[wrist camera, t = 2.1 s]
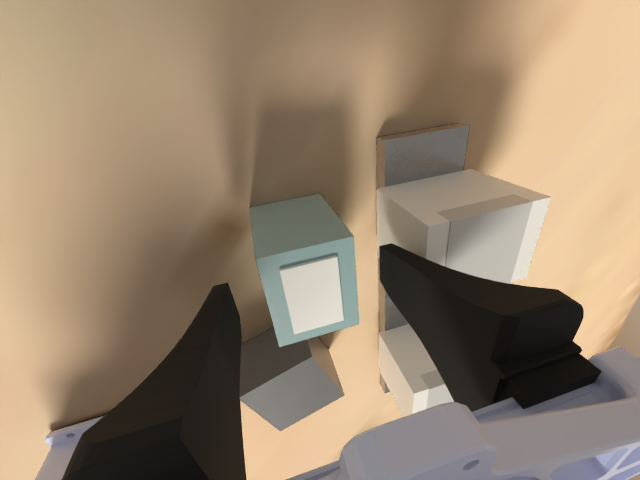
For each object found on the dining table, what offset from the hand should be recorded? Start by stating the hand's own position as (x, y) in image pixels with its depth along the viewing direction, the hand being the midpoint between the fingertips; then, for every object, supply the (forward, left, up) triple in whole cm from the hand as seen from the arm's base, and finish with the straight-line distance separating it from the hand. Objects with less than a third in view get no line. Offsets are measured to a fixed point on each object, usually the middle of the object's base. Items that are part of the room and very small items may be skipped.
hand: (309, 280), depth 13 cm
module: (0, 0, -5) cm, 5 cm away
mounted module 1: (+8, -11, -4) cm, 14 cm away
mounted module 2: (+8, 0, -4) cm, 9 cm away
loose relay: (-2, -9, -5) cm, 10 cm away
